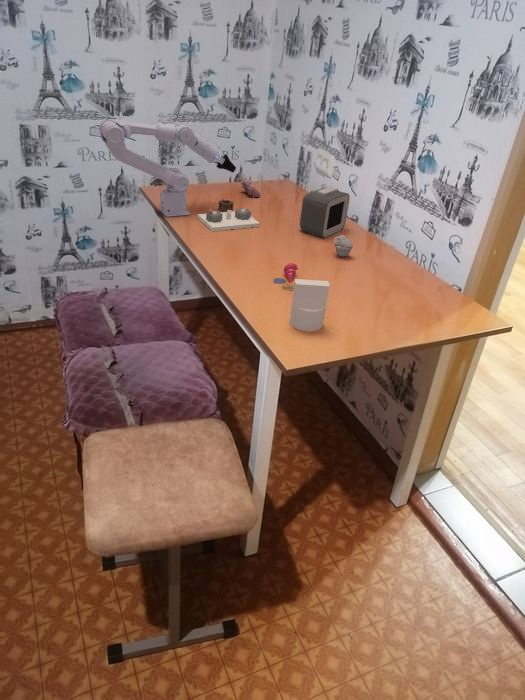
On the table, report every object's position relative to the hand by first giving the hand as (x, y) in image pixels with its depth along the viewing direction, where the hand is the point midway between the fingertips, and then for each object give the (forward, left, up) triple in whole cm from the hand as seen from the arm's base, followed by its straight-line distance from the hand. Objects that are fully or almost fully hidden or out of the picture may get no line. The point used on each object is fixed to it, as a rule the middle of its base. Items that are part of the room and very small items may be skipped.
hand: (230, 167), depth 216 cm
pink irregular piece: (+17, +14, -17) cm, 28 cm away
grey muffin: (+19, -53, -16) cm, 58 cm away
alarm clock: (+25, -30, -16) cm, 42 cm away
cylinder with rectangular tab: (-17, -89, -16) cm, 92 cm away
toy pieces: (-9, -65, -17) cm, 68 cm away
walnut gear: (-1, -1, -16) cm, 16 cm away
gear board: (-6, -14, -16) cm, 22 cm away
